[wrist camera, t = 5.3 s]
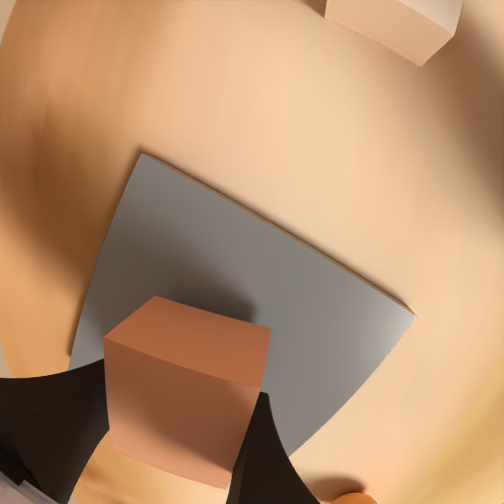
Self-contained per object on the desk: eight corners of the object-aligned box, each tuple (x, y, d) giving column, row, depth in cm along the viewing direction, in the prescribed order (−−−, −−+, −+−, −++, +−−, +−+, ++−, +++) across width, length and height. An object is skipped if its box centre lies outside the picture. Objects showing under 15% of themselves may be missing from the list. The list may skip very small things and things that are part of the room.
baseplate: (409, 307, 13) (416, 316, 12) (260, 469, 16) (259, 480, 15) (151, 155, 13) (141, 153, 12) (76, 363, 16) (67, 370, 15)
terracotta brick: (271, 328, 12) (260, 388, 8) (241, 428, 13) (225, 489, 9) (155, 295, 12) (103, 336, 8) (147, 398, 14) (112, 448, 10)
